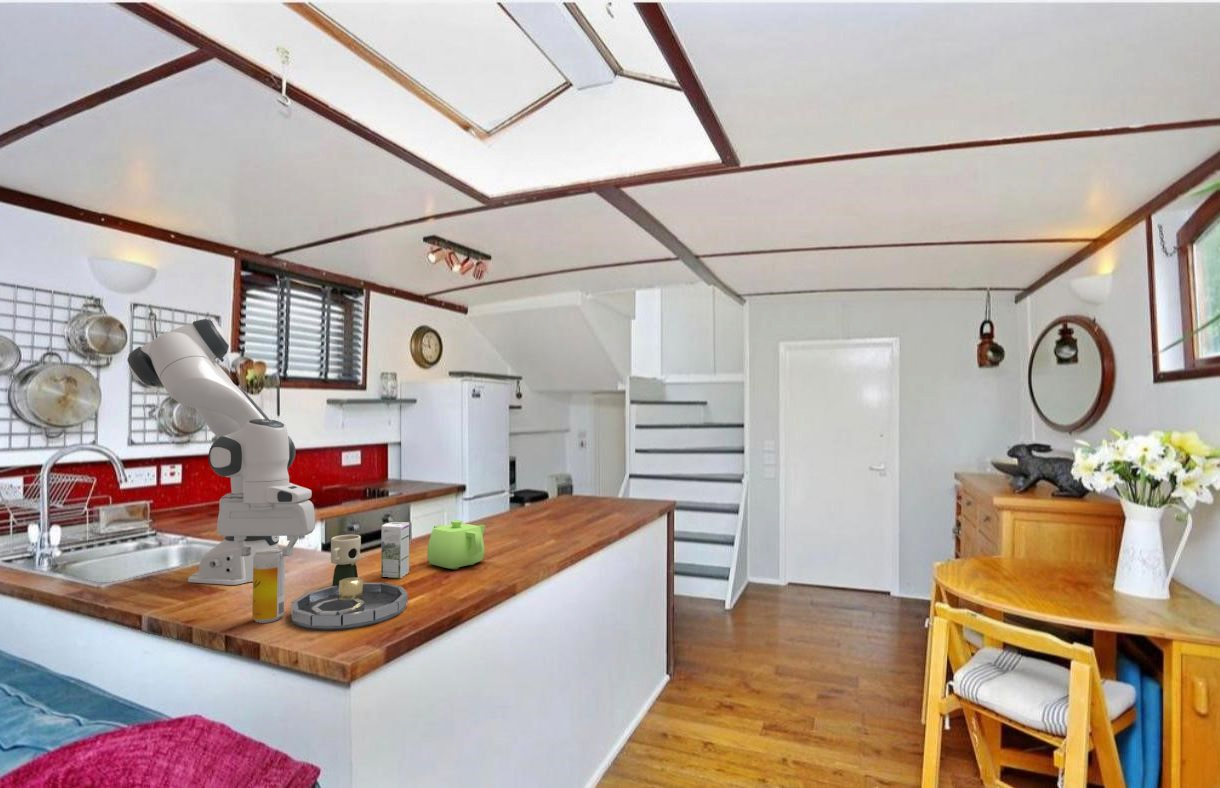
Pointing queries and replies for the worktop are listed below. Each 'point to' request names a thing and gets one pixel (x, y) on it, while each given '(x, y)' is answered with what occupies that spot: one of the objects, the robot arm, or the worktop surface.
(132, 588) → the worktop surface
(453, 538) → the teapot
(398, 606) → the tray
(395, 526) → the syrup box
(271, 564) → the beer can
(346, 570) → the character mug
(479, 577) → the worktop surface
